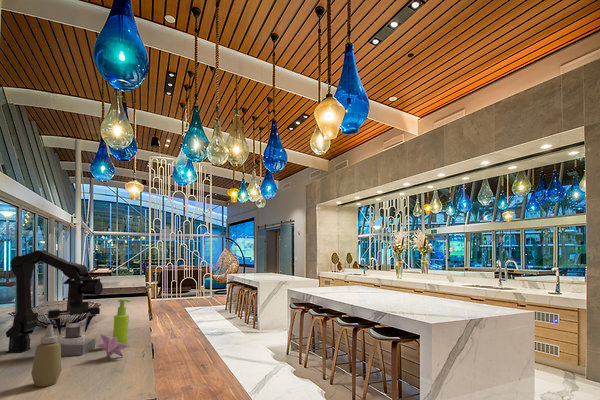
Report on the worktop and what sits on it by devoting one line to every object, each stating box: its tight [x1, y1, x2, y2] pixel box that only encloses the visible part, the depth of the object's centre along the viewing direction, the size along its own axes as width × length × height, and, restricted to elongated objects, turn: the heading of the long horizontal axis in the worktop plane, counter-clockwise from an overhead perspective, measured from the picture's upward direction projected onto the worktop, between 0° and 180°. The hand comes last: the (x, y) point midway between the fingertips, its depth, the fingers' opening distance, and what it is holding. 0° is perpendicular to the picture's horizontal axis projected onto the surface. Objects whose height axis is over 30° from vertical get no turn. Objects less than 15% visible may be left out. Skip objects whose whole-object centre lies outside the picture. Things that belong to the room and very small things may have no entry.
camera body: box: [57, 334, 97, 357], centre depth 163 cm, size 14×12×6 cm
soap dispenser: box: [112, 299, 132, 345], centre depth 174 cm, size 6×7×20 cm
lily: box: [95, 333, 130, 363], centre depth 152 cm, size 12×12×10 cm
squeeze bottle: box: [30, 324, 62, 387], centre depth 125 cm, size 8×8×18 cm
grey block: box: [64, 322, 81, 339], centre depth 164 cm, size 5×5×7 cm
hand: (72, 333), depth 164 cm, fingers open, 9 cm apart
